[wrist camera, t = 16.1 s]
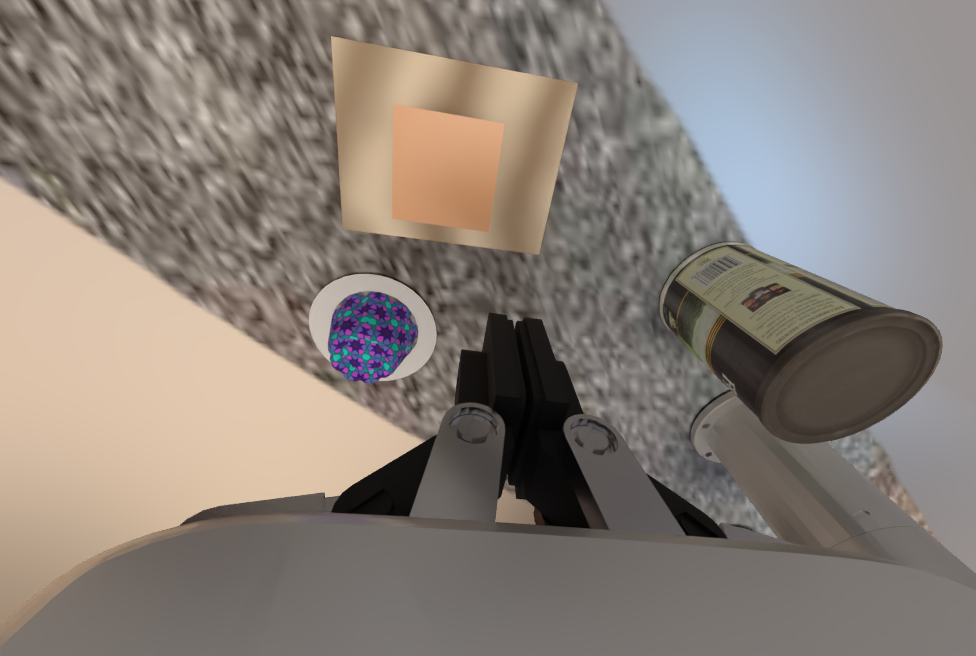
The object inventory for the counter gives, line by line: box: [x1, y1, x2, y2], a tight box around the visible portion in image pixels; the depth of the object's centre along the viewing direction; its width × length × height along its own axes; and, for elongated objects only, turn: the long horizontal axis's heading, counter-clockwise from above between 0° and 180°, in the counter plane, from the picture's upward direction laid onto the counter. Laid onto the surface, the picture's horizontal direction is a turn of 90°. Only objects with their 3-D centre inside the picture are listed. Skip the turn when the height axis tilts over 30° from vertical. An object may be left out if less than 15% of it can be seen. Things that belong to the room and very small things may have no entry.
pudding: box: [309, 274, 437, 383], centre depth 32 cm, size 12×12×5 cm
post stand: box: [331, 36, 578, 255], centre depth 23 cm, size 16×12×8 cm
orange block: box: [392, 104, 505, 232], centre depth 22 cm, size 6×6×7 cm
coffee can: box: [659, 242, 942, 444], centre depth 28 cm, size 10×10×14 cm
